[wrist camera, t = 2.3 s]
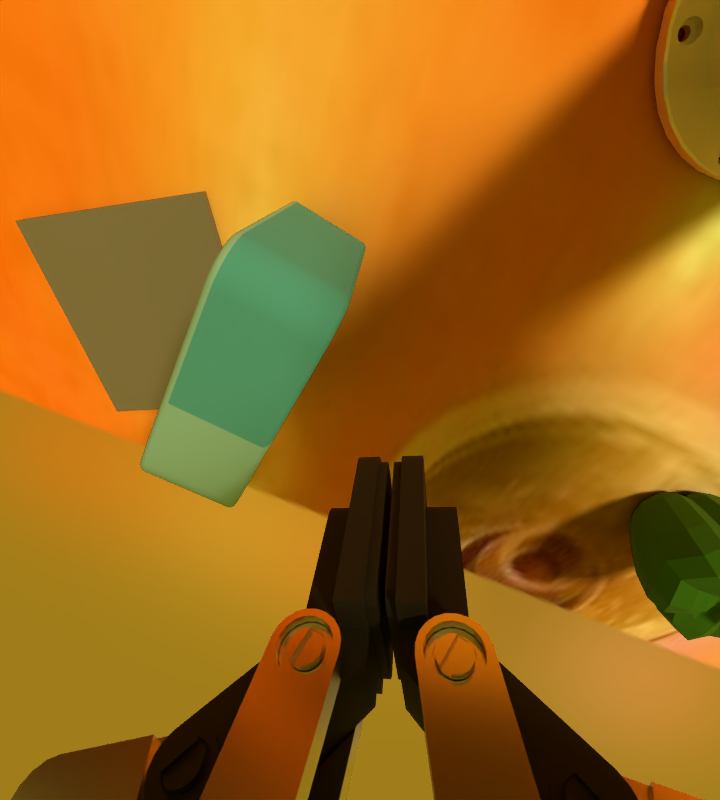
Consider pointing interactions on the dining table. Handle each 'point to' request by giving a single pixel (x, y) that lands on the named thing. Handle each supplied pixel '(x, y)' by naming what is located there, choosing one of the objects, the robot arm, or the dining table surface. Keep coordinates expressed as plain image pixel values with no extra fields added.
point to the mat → (129, 285)
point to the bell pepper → (680, 559)
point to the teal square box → (251, 349)
